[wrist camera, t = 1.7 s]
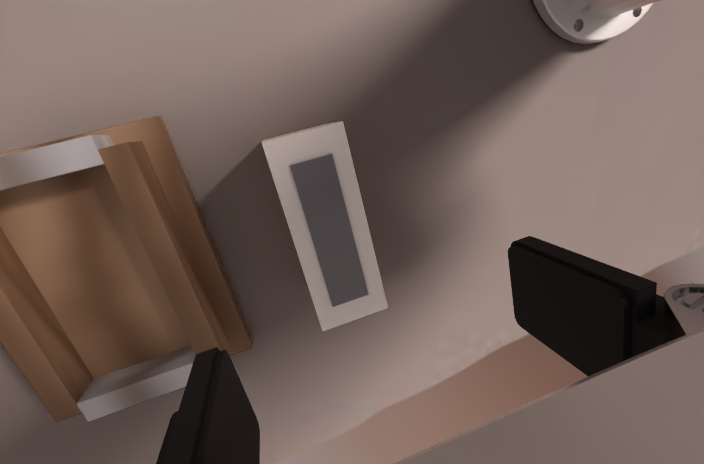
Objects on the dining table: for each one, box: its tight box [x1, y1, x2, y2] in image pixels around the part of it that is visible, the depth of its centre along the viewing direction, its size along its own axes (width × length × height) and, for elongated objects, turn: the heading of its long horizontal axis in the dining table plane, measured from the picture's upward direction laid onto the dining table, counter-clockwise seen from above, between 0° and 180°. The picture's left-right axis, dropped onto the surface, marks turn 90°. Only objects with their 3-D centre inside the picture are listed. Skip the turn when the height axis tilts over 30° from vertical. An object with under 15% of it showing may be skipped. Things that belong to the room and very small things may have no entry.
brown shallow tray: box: [0, 116, 252, 422], centre depth 23 cm, size 14×18×4 cm
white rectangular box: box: [262, 121, 388, 331], centre depth 24 cm, size 4×12×7 cm, turn 15°
